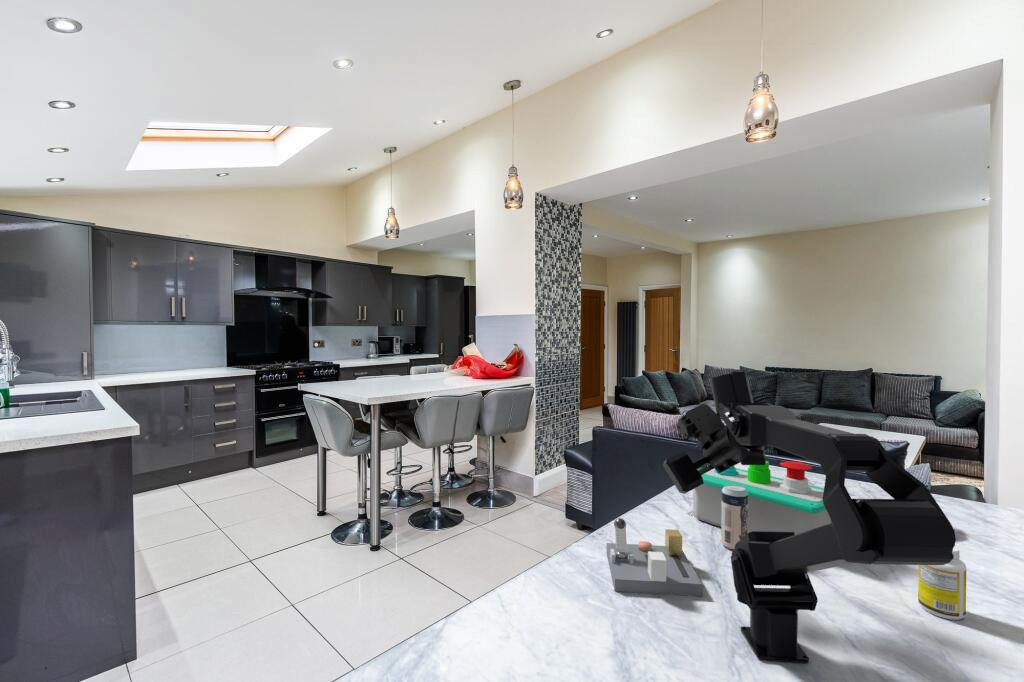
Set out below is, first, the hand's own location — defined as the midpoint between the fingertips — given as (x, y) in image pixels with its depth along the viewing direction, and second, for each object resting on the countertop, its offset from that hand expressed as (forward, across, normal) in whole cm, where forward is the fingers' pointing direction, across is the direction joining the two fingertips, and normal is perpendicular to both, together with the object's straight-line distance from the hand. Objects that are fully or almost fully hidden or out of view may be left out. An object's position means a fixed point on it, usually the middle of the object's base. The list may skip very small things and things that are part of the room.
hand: (701, 465), depth 91 cm
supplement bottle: (-7, -17, +35) cm, 40 cm away
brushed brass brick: (+5, +12, +11) cm, 17 cm away
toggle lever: (+2, +22, +7) cm, 23 cm away
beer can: (+13, -2, +16) cm, 21 cm away
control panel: (+21, -12, +16) cm, 29 cm away
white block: (-4, +19, +12) cm, 23 cm away
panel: (+3, +18, +12) cm, 22 cm away
